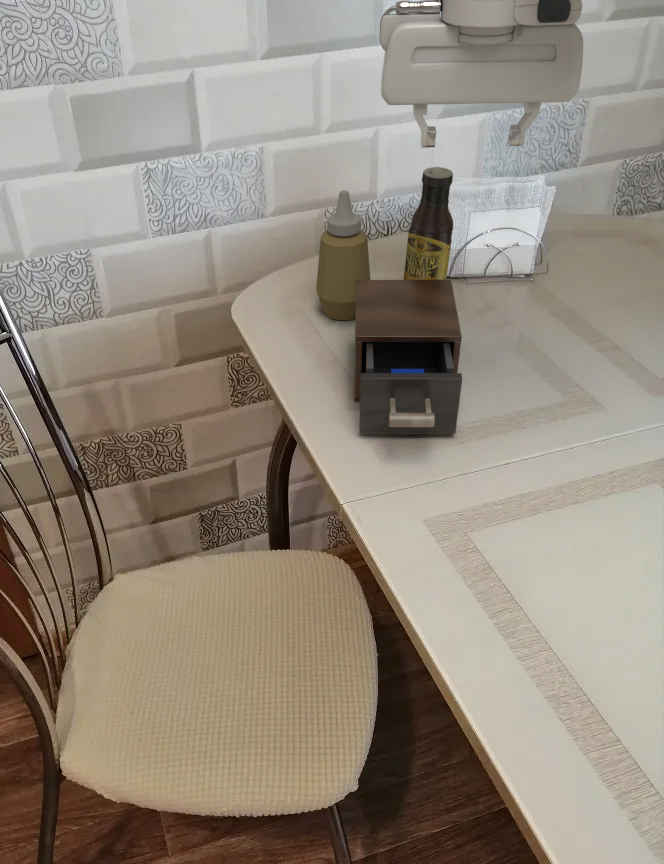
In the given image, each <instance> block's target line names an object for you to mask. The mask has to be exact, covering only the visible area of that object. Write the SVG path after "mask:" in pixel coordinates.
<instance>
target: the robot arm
mask: <svg viewBox="0 0 664 864" xmlns="http://www.w3.org/2000/svg"><path fill="white" fill-rule="evenodd" d="M582 10H583V1H582V0H420V1H410V0H399V1H396V3H395V5H393V6H390V7H389V8H387V9H386V10H385V11H384V13H383V14H382V16H381V17H380V21H379V44H380V46H381V48H382V50H383V51H384V56H383V60H382V69H381V78H380V79H381V80H380V95H381V98H382V99H383V100H384V102H385V103H386V105H389V106H412V113H413V117H414V119H415V121H416V123H417V125H418V127H419V129H420V131H421V133H420V148H421V149H426V148H436V138H437V128H436V126H435V125H434V126H433V125H432V126H431V125H429V126H428V123H427V121H426V119H425V117H424V116H427V114H428V106H429V105H471V104H475V105H477V104H522V107H523V109H524V111H525V112H524V113H523V115H522V116H521V117H520V120H519V121H518V122H517V124H509V126H508V133H509V134H508V135H507V145H508V147H523V146H524V143H525V137H526V131H527V130H528V129H529V128H530V127H531V125H532V124H533V122H534V121H535V120H536V118H537V117H538V116H539V114H540V110H541V104H542V103H568V102H570V101H571V100H572V99H573V98H574V97H575V95H576V94H577V93H578V92H579V89H580V85H581V79H582V72H583V60H584V38H583V33H582V32H581V30H580V28H579V27H578V25H577V24H576V23H577V22H578V21H579V20H580V17H581V15H582ZM393 12H395V13H393Z"/></svg>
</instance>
